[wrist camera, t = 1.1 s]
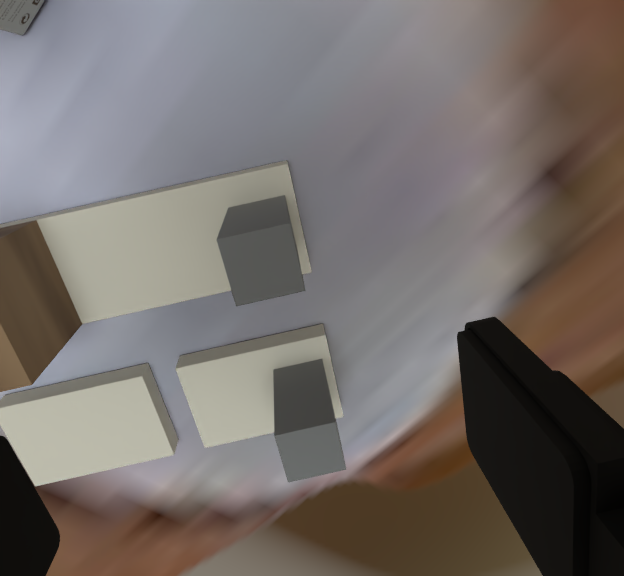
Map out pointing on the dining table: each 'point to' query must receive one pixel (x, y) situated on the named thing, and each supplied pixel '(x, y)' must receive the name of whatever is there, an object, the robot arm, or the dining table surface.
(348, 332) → the dining table surface
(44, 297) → the walnut cube
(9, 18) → the skincare box
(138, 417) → the broken strip
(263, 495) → the dining table surface
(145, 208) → the cream strip
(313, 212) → the dining table surface
